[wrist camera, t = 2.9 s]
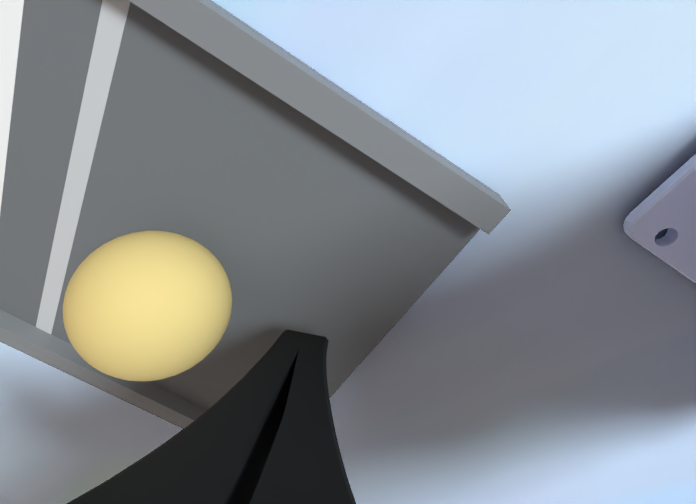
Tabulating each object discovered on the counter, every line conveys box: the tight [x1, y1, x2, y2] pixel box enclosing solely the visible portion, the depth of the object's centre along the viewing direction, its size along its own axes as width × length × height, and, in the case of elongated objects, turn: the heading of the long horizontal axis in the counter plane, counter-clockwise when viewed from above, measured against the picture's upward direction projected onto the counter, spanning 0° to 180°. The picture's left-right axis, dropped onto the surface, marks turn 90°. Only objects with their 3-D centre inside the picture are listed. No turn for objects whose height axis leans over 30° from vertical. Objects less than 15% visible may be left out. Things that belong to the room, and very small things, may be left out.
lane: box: [0, 0, 510, 429], centre depth 11 cm, size 18×14×2 cm
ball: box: [63, 231, 232, 381], centre depth 10 cm, size 4×4×4 cm
